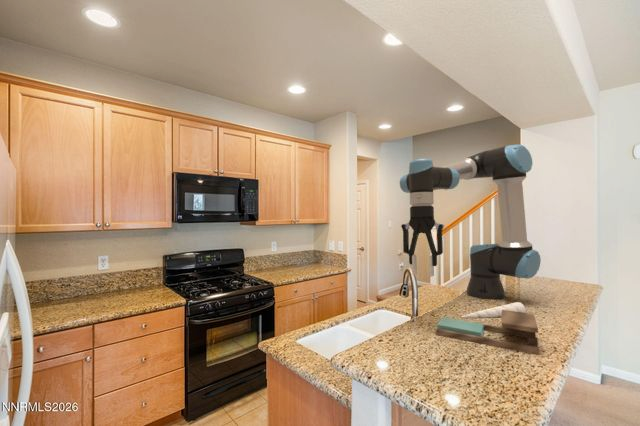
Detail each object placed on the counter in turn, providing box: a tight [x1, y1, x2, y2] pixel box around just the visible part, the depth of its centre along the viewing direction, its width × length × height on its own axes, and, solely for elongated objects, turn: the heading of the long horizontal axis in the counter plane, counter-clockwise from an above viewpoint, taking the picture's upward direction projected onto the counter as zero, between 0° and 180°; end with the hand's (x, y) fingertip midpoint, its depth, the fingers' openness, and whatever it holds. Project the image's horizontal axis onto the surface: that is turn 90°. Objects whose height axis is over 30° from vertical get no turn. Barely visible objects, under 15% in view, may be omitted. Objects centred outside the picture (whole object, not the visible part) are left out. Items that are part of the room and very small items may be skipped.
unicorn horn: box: [460, 301, 527, 319], centre depth 104 cm, size 5×24×5 cm, turn 92°
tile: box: [436, 316, 485, 337], centre depth 90 cm, size 12×8×3 cm, turn 55°
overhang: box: [436, 310, 540, 356], centre depth 87 cm, size 25×14×7 cm, turn 57°
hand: (423, 274), depth 96 cm, fingers open, 5 cm apart
